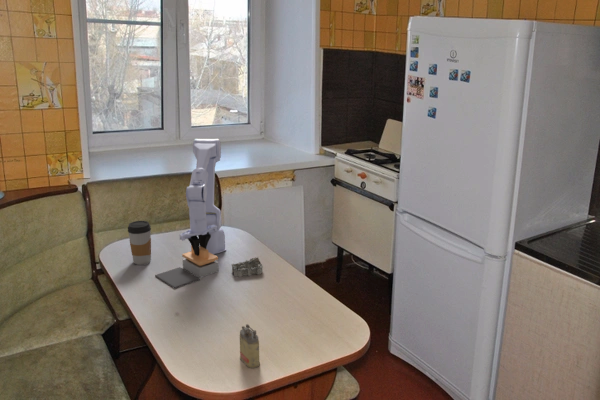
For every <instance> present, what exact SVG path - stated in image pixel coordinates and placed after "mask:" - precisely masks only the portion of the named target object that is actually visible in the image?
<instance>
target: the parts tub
mask: <svg viewBox="0 0 600 400" xmlns="http://www.w3.org/2000/svg"><path fill="white" fill-rule="evenodd" d="M219 266H220V265H219V262H218V260H215V261H214V262H211V263H208V264H205V265H202V266H199V265H197V264H195V263H193V262H192V261H190V260H188V259H186V258H183V259H182V269H184V270H186V271H188V272H190V273H191V274H193V275H195V276H197V277H198V278H200V279H201V278H203V277H206V276H209V275H212V274H215V273H218V272H219V271H220V270H219V269H220V268H219Z"/></svg>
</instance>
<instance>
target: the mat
mask: <svg viewBox="0 0 600 400" xmlns="http://www.w3.org/2000/svg"><path fill="white" fill-rule="evenodd" d="M154 276H155V277H156V278H157V279H158V280H160V281H161V282H163V283H165V284H167V285H168V286H170V287H172V288H173V289H178V288H181V287H184V286H187V285H189V284H192V283H195V282H198V281H200V280H201V278H200V277H198V276H196V275H194V274H193V273H191V272H189V271H187V270H185V269H184V268H183V267H181V266H179V267H176V268H173V269H170V270H167V271H163V272H161V273H157V274H155V275H154Z"/></svg>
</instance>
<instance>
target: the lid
mask: <svg viewBox="0 0 600 400" xmlns="http://www.w3.org/2000/svg"><path fill="white" fill-rule="evenodd" d="M190 247H191V251H187V252H184V253H182V254H181V255H182V258H183V259H185V258H186V259H188V260H190V261H192V262H193V263H195V264H197V265H199V266H202V265H205V264H208V263H211V262H214V261H218V260H219V256H217V255H216V254H214V255H213V254H211V253H209V252H208V250H207V249H205V248H203V247H201V246H200V245H199V256H197V255H195V254H194V250H193V248H192V245H190Z"/></svg>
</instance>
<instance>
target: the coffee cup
mask: <svg viewBox="0 0 600 400" xmlns="http://www.w3.org/2000/svg"><path fill="white" fill-rule="evenodd" d="M151 231H152V228H151V224H150V222H149V221H148V220H147V221H146V220H135V221H131V222H130V223H129V224H128V227H127V232H128V237H129V244H130V245H129V246H130V251H131V256H132V262H133V263H134V264H135V265H137V266H143V265H148V264H149V263H150V262H151V260H152V236H151V235H152V233H151Z"/></svg>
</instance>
